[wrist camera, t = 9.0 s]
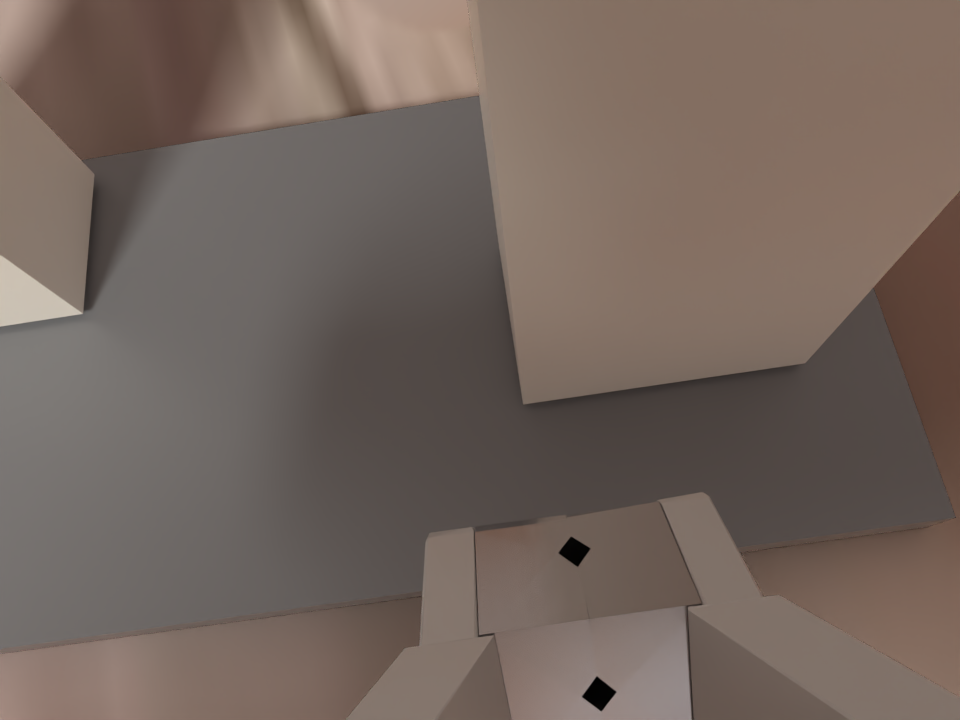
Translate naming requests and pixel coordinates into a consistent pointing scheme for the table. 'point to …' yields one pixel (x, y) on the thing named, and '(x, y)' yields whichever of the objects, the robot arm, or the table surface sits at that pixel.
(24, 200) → the key two
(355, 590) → the grey flat board
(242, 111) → the table surface
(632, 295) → the key one
